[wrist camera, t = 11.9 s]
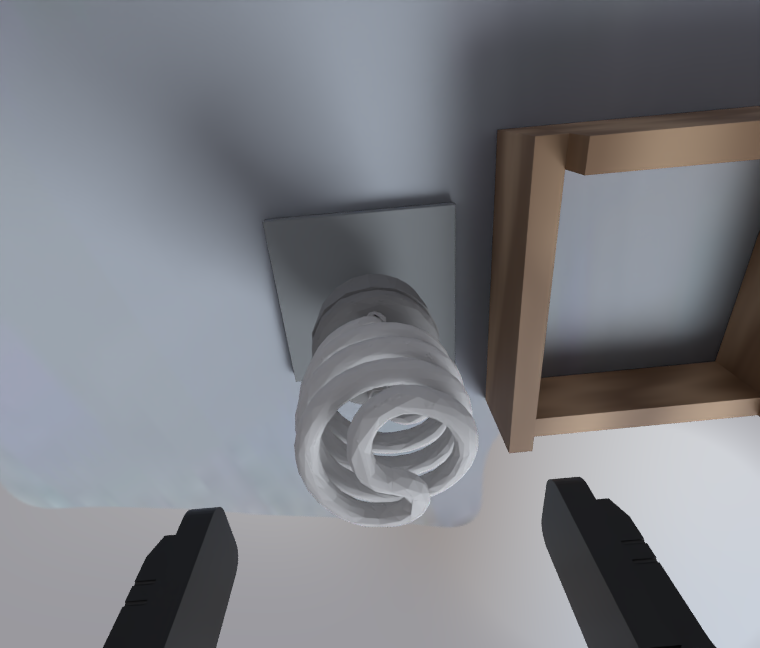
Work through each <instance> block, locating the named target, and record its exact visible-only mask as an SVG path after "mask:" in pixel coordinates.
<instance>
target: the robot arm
mask: <svg viewBox="0 0 760 648" xmlns="http://www.w3.org/2000/svg"><path fill="white" fill-rule="evenodd" d="M542 532H543V537H544V541H545V544H546V547H547V549H548V552H549V554H550V557H551V559H552V562H553V564H554V566H555V569H556V571H557V573H558V576H559V578H560V581H561V583H562V586H563V588H564V590H565V593H566V595H567V598H568V600H569V602H570V605H571V607H572V610H573V612H574V614H575V617H576V619H577V622H578V624H579V626H580V629H581V631H582V634H583V636H584V638H585V641H586V643H587V646H588V648H716V647H715V646H714V645H713V643H712V642H711V641H710V639H709V638H708V636H707V635H706V633H705V632H704V630H703V629H702V627H701V626H700V624H699V623H698V621H697V620H696V618H695V617H694V615H693V613H692V612H691V611H690V609H689V607H688V606H687V604H686V603H685V601H684V600H683V598H682V596H681V595H680V594H679V592H678V590H677V589H676V587H675V586H674V584H673V583H672V581H671V580H670V578H669V576H668V575H667V573H666V572H665V570H664V569H663V568H662V566H661V564H660V563H658V562H657V560H656V556H655V555H654V553H653V552H652V550H651V549H650V548H649V546H648V544H647V543H645V542H644V538H643V536H642V535H641V533H640V532H639V530H638V529H637V527H636V526H635V524H634V523H633V521H632V520H631V518H630V517H629V516H628V515H627V514H626V513H625V512H624V511H623V510H621V509H620V508H619V507H618V506H617V505H616V504H614V503H613V502H612V501H611V500H610V499H597V500H596V499H595V497H594V495H593V494H592V492H591V490H590V488H589V487H588V485H587V483H586V482H585V481H584V480H583V479H582V478H581V477H572V478H560V479H550V480H548V481H547V485H546V492H545V499H544V506H543V513H542ZM237 565H238V549H237V545H236V542H235V539H234V536H233V534H232V531H231V528H230V526H229V523H228V520H227V517H226V515H225V512H224V510H223V508H221V507H214V508H203V509H192V510H189V511H187V513H186V514H185V516H184V517H183V520H182V522H181V524H180V526H179V529H178V531H177V533H176V535H168V536H164V538H163V539H162V540H161V541H160V542H159V543H158V544H157V546H156V547H155V548H154V549H153V550H152V551H151V553H150V554H149V555H148V556H147V557H146V559H145V561H144V563H143V565H142V567H141V570H140V572H139V574H138V576H137V578H136V580H135V585H134V586H132V588H131V590H130V592H129V595H128V596H127V599H126V601H125V606H124V607H122V609H121V611H120V613H119V615H118V617H117V619H116V622H115V624H114V626H113V628H112V630H111V632H110V634H109V636H108V638H107V640H106V642H105V645H104V647H103V648H216V646H217V642H218V638H219V634H220V630H221V627H222V623H223V619H224V616H225V612H226V609H227V605H228V601H229V598H230V594H231V590H232V586H233V583H234V579H235V575H236V571H237Z"/></svg>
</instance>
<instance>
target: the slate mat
mask: <svg viewBox="0 0 760 648" xmlns="http://www.w3.org/2000/svg"><path fill="white" fill-rule="evenodd" d="M263 227H264V232H265V236H266V241H267V246H268V251H269V255H270V260H271V265H272V270H273V275H274V279H275V284H276V289H277V294H278V298H279V303H280V308H281V313H282V318H283V322H284V327H285V332H286V337H287V341H288V346H289V351H290V356H291V361H292V365H293V370H294V375H295V380H296V382H298V381H302V380H303V378H304V375H305V373H306V370H307V368H308V366H309V364H310V363H311V360H312V332H313V329H314V326H315V323H316V321H317V318H318V315H319V312H320V309H321V307H322V304H323V303H324V302H325V300H326V299H327V298H328V297H329V295H330V294H331V293H332V292H333V290H334V289H335V288H336V287H338V286H340V285H341V284H343V283H345V282H346V281H348V280H350V279H352V278H354V277H358V276H362V275H366V274H384V275H388V276H391V277H395V278H398V279H400V280H402V281H403V282H405V283H407V284H409V285H410V286H411V287H412V288H413V289H414V290H415V291H416V292H417V294H418V295H419V296H420V298H421V299H422V300H423V302H424V303H425V304H426V306H427V308H428V310H429V312H430V313H431V315H432V317H433V319H434V321H435V323H436V325H437V327H438V329H439V339H440V344H441V345H442V346H443V347H444V349H445V350H446V351H447V354H448V356H449V358H450V359H451V360H452V361H453V362H454V363H455V204H454V203H453V202H450V203H439V204H428V205H418V206H407V207H396V208H385V209H374V210H363V211H352V212H341V213H331V214H320V215H309V216H298V217H287V218H276V219H265V220H264V222H263Z"/></svg>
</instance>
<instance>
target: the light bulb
mask: <svg viewBox="0 0 760 648" xmlns="http://www.w3.org/2000/svg"><path fill="white" fill-rule="evenodd" d="M348 401H351V402H353V403H357V404H363V405H362V406H361V407H360V409H359V410H358V412H357V413H356V414H355V416H354V417H353V420H352V422H350V421H348V420H347V419H345V418H344V417H343V416H342V415H341V414H340V413H339V412H338V411H337V410H338V409H339V408H340V407H341V406H342V405H343V404H345V403H347V402H348ZM427 417H429V418H428V419H427V420H426V421H424V422H423V423H422V424H420V425H417V426H415V427H413V428H410V429H407V430H402V431H397V432H388V433H382V432H377V431H378V429H380V428H381V427H382V426H383V425H384V424H385V423H386V422H387V421H388V420H391V421H393V422H395V423H399V424H403V425H409V424H415V423H418V422H421V421H422V420H424V419H426V418H427ZM295 431H296V438H295V444H294V447H295V458H296V464H297V468H298V472H299V474H300V476H301V478H302V480H303V482H304V483H305V485H306V487H307V489H308V491H309V492H310V493H311V494H312V496H313V497H314V498H315V499H316V500H317V501H318V503H319V504H321V505H322V506H323V507H325V508H326V509H327V510H328V511H330V512H331V513H332V514H334V515H335V516H337V517H339V518H340V519H343V520H345V521H348V522H350V523H353V524H357V525H360V526H364V527H395V526H400V525H404V524H408V523H411V522H412V521H414V520H415V519H417V518H418V517H420V516H421V515H423V513H424V512H425V510H426V509H427V507H428V505H429V504H430V497H432V496H434V495H437V494H439V493H441V492H444V491H445V490H447V489H448V488H450V487H451V486H453V485H454V484H455V483H456V482H457V481H459V480H460V479H461V478H462V477H463V476H464V474H465V473H466V472H467V471H468V469H469V468H470V467H471V466H472V463H473V461H474V459H475V456H476V454H477V450H478V431H477V427H476V424H475V421H474V419H473V417H472V406H471V401H470V397H469V395H468V393H467V392H466V390H465V388H464V384H463V380H462V377H461V374H460V372H459V370H458V368H457V366H456V365H455V363H454V362H453V361H452V360H451V359H450V358H449V356H448V354H447V351H446V350H445V349H444V347H443V346H442V345H441V344H440V339H439V329H438V327H437V325H436V323H435V321H434V319H433V317H432V315H431V313H430V312H429V310H428V308H427V306H426V304H425V303H424V302H423V300H422V299H421V298H420V296H419V295H418V294H417V292H416V291H415V290H414V289H413V288H412V287H411V286H410V285H409V284H407V283H405V282H403V281H402V280H400V279H398V278H395V277H391V276H388V275H384V274H366V275H362V276H358V277H354V278H352V279H350V280H348V281H346V282H345V283H343V284H341V285H340V286H338V287H336V288H335V289H334V290H333V292H332V293H331V294H330V295H329V297H328V298H327V299H326V300H325V302H324V303H323V304H322V307H321V309H320V312H319V315H318V318H317V321H316V323H315V326H314V329H313V332H312V360H311V363H310V364H309V366H308V368H307V370H306V373H305V375H304V378H303V380H302V382H301V387H300V394H299V401H298V405H297V410H296V414H295ZM435 440H436V441H435ZM433 441H435V442H433ZM432 442H433V443H432ZM430 443H432V444H431V445H429V446H427V447H425V448H423V449H422V450H419V451H417V452H414V453H411V454H406V455H399V456H376V455H374V454H373V453H383V454H394V453H402V452H408V451H412V450H415V449H418V448H421V447H424V446H426V445H428V444H430ZM441 463H442V464H441ZM440 464H441V465H440ZM438 465H440V466H438ZM437 466H438V467H437ZM435 467H437V468H436V469H434V468H435ZM431 469H434V470H433V471H431V472H429V473H426V474H424V475H421V476H418V475H417V474H421V473H423V472H426V471H429V470H431ZM351 496H352V497H351ZM353 497H355V498H359V499H362V500H366V501H370V502H364V501H360V500H357V499H355V498H353Z"/></svg>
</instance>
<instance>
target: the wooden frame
mask: <svg viewBox="0 0 760 648" xmlns="http://www.w3.org/2000/svg"><path fill="white" fill-rule="evenodd" d="M757 159H760V106H753V107H742V108H731V109H720V110H709V111H698V112H687V113H676V114H665V115H654V116H643V117H632V118H621V119H610V120H599V121H588V122H577V123H566V124H555V125H544V126H533V127H522V128H511V129H500V130H497V151H496V174H495V196H494V219H493V241H492V264H491V287H490V309H489V332H488V354H487V377H486V402H487V404H488V406H489V408H490V411H491V413H492V415H493V418H494V420H495V422H496V424H497V427H498V429H499V431H500V434H501V436H502V438H503V440H504V443H505V445H506V447H507V449H508V452H509V453H516V452H527V451H532V449H533V440H534V437H535V436H546V435H556V434H567V433H577V432H587V431H598V430H607V429H618V428H629V427H639V426H649V425H660V424H671V423H680V422H691V421H702V420H712V419H723V418H733V417H743V416H753V415H758V416H760V231H759V234H758V237H757V240H756V243H755V246H754V249H753V252H752V255H751V258H750V261H749V264H748V267H747V270H746V273H745V276H744V278H743V281H742V284H741V287H740V290H739V293H738V296H737V299H736V302H735V305H734V308H733V311H732V314H731V317H730V320H729V323H728V325H727V328H726V331H725V334H724V337H723V340H722V343H721V346H720V349H719V352H718V355H717V358H716V361H714V362H704V363H693V364H683V365H672V366H662V367H651V368H641V369H630V370H620V371H609V372H598V373H588V374H577V375H567V376H556V377H546V378H541V372H542V363H543V354H544V346H545V337H546V329H547V320H548V311H549V303H550V294H551V286H552V277H553V268H554V260H555V251H556V243H557V234H558V226H559V217H560V208H561V200H562V191H563V183H564V174H565V169H566V170H569V171H572V172H576V173H579V174H582V175H593V174H604V173H615V172H626V171H637V170H648V169H659V168H669V167H680V166H691V165H702V164H713V163H724V162H735V161H746V160H757Z"/></svg>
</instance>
